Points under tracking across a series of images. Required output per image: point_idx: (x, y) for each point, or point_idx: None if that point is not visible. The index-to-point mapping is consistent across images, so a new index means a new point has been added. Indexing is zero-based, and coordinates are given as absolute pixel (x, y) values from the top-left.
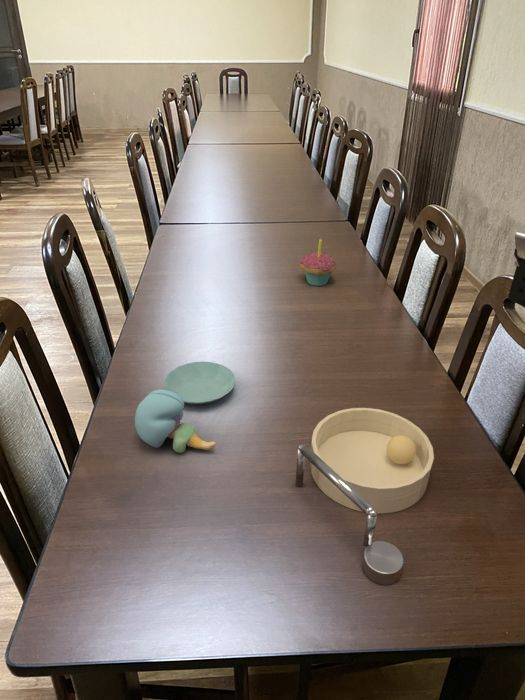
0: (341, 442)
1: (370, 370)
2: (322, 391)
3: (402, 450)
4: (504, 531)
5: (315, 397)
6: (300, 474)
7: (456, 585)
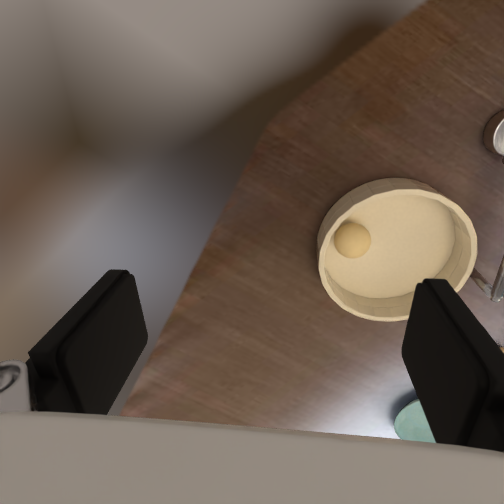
0: (379, 286)
1: (245, 349)
2: (321, 352)
3: (366, 236)
4: (341, 86)
5: (336, 349)
6: (479, 273)
7: (464, 62)
